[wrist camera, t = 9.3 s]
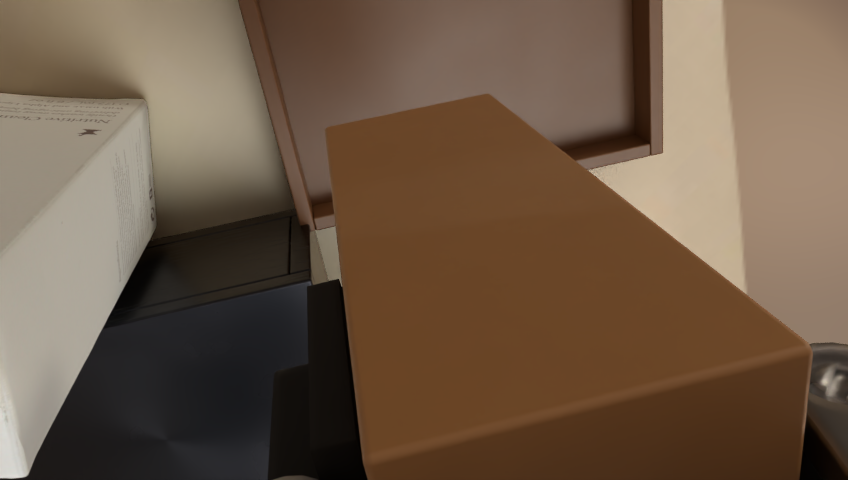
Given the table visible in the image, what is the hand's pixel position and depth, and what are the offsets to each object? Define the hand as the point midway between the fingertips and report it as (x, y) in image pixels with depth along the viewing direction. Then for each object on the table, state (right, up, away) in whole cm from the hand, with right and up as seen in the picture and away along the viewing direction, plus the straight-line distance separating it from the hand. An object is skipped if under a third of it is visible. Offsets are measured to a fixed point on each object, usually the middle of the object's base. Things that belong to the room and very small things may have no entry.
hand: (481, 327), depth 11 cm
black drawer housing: (-12, -3, +20) cm, 23 cm away
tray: (0, +10, +16) cm, 19 cm away
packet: (-1, +2, +5) cm, 6 cm away
